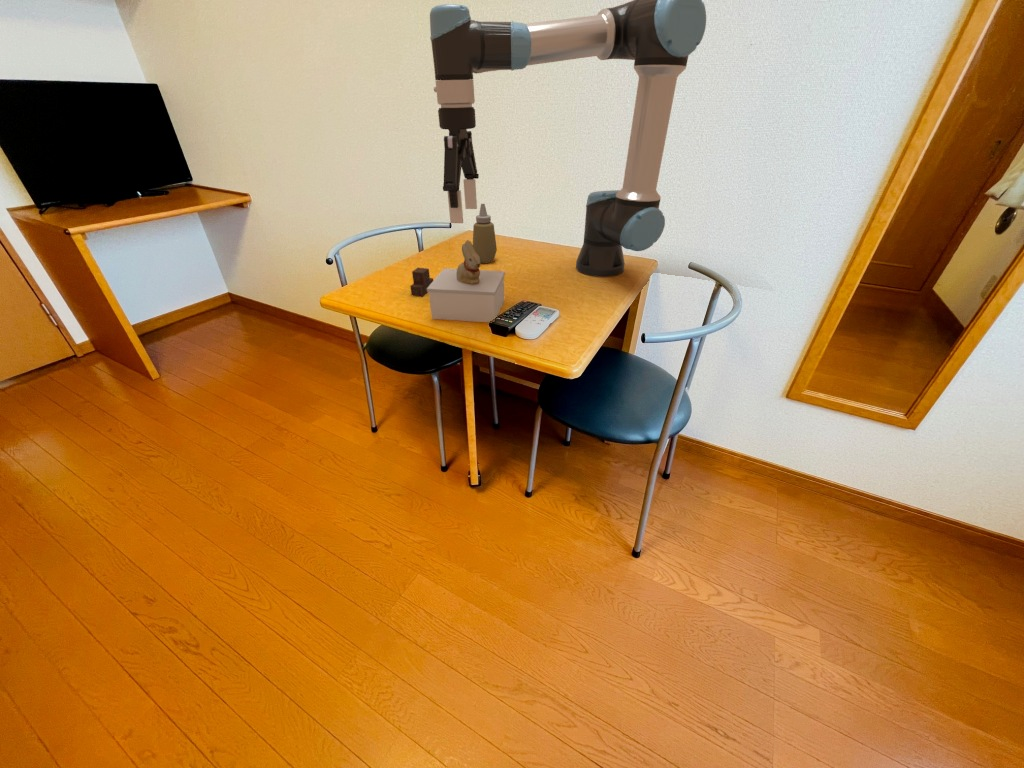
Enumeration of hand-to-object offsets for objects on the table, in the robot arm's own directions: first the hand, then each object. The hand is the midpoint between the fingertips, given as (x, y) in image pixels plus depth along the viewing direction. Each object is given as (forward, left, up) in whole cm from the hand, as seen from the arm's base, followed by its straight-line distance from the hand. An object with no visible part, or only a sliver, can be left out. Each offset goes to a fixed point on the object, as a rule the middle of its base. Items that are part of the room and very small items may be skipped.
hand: (464, 215), depth 100 cm
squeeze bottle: (+4, -39, -24) cm, 46 cm away
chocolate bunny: (0, +1, -16) cm, 16 cm away
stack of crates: (+15, -10, -24) cm, 30 cm away
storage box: (0, 0, -23) cm, 23 cm away
